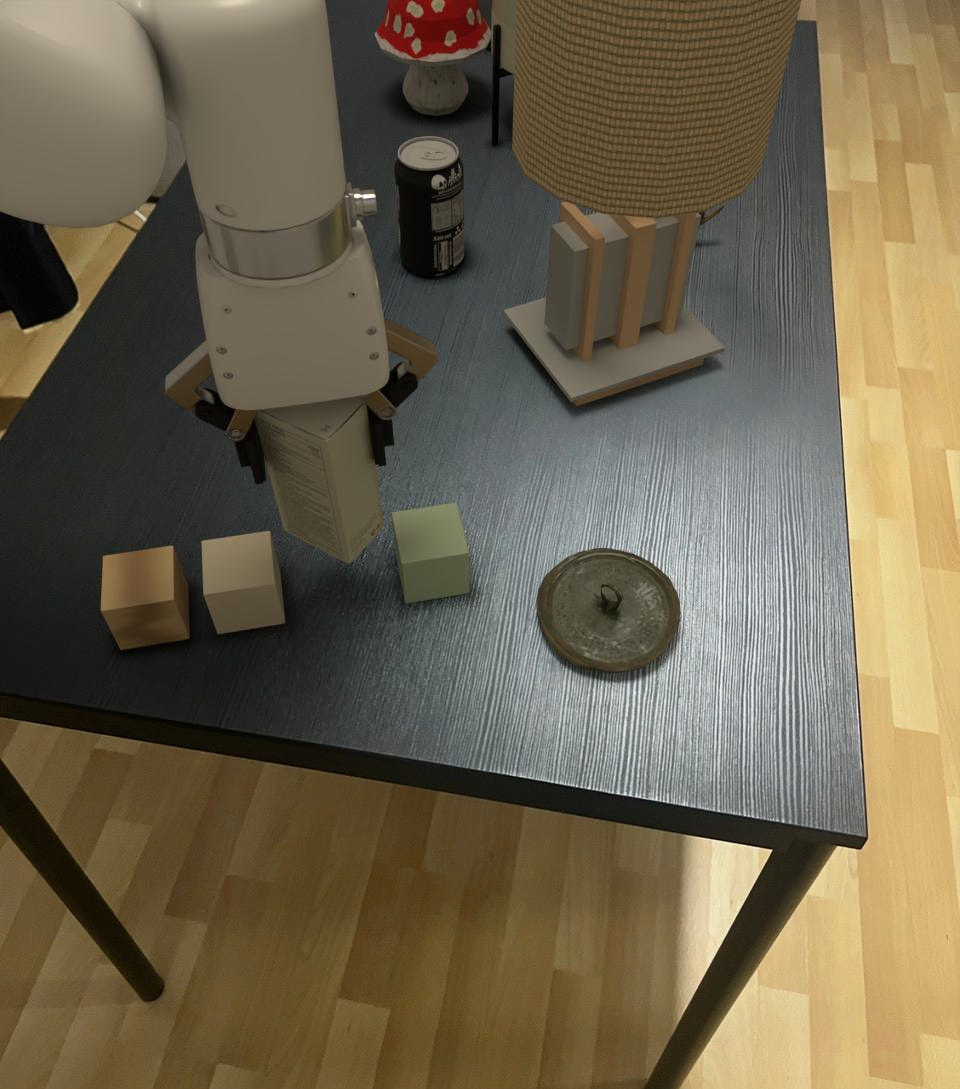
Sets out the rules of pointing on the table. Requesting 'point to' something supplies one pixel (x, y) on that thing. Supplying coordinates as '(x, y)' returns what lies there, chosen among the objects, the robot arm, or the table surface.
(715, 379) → the table surface
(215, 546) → the block
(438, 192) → the beverage can
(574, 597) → the lid
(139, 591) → the block
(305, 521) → the cosmetic box
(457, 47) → the decorative mushroom
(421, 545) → the block
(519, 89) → the desk lamp
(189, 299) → the table surface
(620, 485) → the table surface
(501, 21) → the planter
